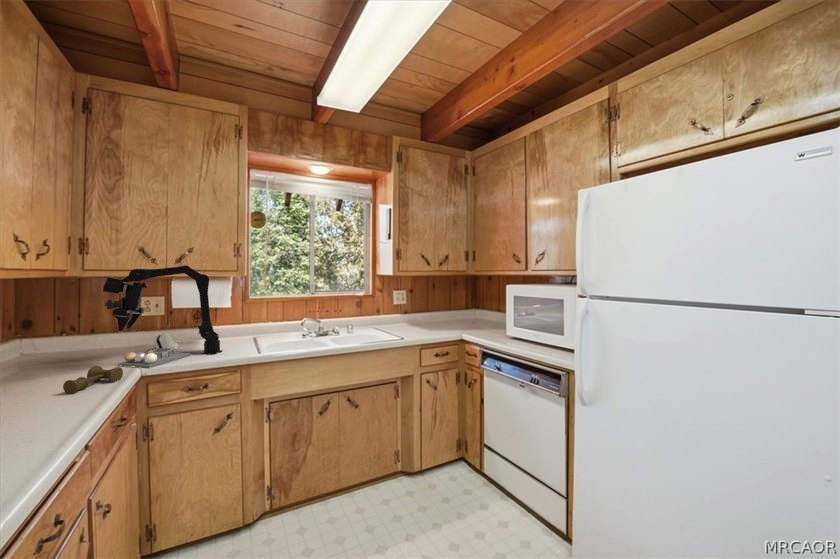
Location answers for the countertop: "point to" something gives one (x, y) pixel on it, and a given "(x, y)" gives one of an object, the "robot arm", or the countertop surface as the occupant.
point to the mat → (157, 362)
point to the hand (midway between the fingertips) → (124, 329)
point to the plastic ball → (150, 358)
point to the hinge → (164, 341)
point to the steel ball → (140, 357)
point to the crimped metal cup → (163, 352)
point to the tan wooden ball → (129, 357)
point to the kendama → (92, 378)
